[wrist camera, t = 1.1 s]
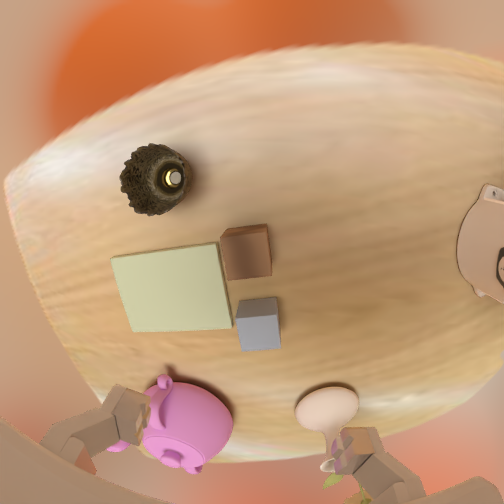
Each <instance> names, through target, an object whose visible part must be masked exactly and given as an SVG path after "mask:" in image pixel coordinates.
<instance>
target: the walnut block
mask: <svg viewBox="0 0 504 504" xmlns="http://www.w3.org/2000/svg"><path fill="white" fill-rule="evenodd" d="M220 240H221V245H222V251H223V257H224V262H225V268H226V273H227V278H228V281H229V280H238V279H247V278H256V277H265V276H272V259H271V251H270V244H269V236H268V229H267V224H259V225H252V226H244V227H237V228H229V229H227V230H226V231H225V232H224V234H223V235H222V236H221V237H220Z"/></svg>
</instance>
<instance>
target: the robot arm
mask: <svg viewBox="0 0 504 504" xmlns="http://www.w3.org/2000/svg"><path fill="white" fill-rule="evenodd" d="M457 259H458V265H459V269H460V272H461V274H462V275H463V277H464V278H465V279H466V280H467V281H468V282H469V283H470V284H472V286H473V288H474V291H475V294H476V295H477V296H479V297H483V296H485V295H488V296H490V297H492V298H494V299H495V300H497V301H499V302H501V303H503V304H504V190H503V189H501V188H498V187H495V186H492V185H489V184H485V185H484V187H483V188H482V191H481V194H480V196H479V199H478V201H477V202H476V203H475V204H474V206H473V207H472V208H471V209H470V211H469V212H468V214H467V215H466V217H465V219H464V221H463V224H462V227H461V230H460V234H459V238H458V245H457ZM150 402H151V398H150V396H148V395H145V394H142V393H139V392H137V391H134V390H131V389H129V388H126V387H123V386H121V385H118V384H116V385H115V386H113V388H112V390H111V391H110V393H109V394H108V396H107V397H106V399H105V401H104V402H103V404H102V405H101V407H100V409H98V408H94V409H92V410H89V411H87V412H84V413H82V414H79V415H77V416H74V417H71V418H69V419H66V420H63V421H61V422H57V423H55V424H53V425H52V426H51V428H50V429H49V430H48V432H47V433H46V435H45V436H44V438H43V439H42V440H41V442H40V443H39V444H38V443H37V442H35V441H34V440H32V439H30V438H29V437H28V436H26V435H25V434H24V433H22V432H21V431H19V430H18V429H17V428H15V427H14V426H13V425H11V424H10V423H9V422H7V421H6V420H5V419H4V418H2V416H0V504H174V503H170V502H166V501H162V500H159V499H156V498H153V497H149V496H146V495H143V494H140V493H137V492H135V491H132V490H129V489H126V488H124V487H121V486H119V485H116V484H114V483H111V482H109V481H106V480H104V479H102V478H100V477H98V476H95V474H96V471H97V470H96V468H95V466H94V464H93V462H92V460H91V458H92V457H93V456H95V455H97V454H99V453H100V452H102V451H104V450H105V449H107V448H109V447H111V446H112V445H114V444H115V443H117V442H119V441H120V440H122V441H125V442H128V443H131V444H134V445H136V446H139V445H140V443H141V440H142V438H143V436H144V433H143V429H145V428H147V426H148V423H149V420H150V416H151V408H150V406H149V405H150ZM331 453H332V457H333V458H334V459H336V461H335V462H334V469H335V474H336V475H349V474H353V476H354V478H355V479H356V480H357V481H358V482H359V483H360V485H361V486H362V487H363V488H364V489H365V490H366V491H367V492H368V494H369V495H370V496H371V497H372V498H373V499H374V500H373V501H371V502H370V503H369V504H504V502H503V499H502V497H501V495H500V492H499V490H498V489H497V487H496V486H495V485H494V484H492V483H491V482H489V481H487V480H486V479H484V478H482V477H479V476H477V477H473V478H471V479H469V480H466V481H464V482H462V483H460V484H457V485H455V486H452V487H450V488H448V489H445V490H443V491H440V492H437V493H434V494H431V495H428V496H426V493H425V490H424V488H423V485H422V482H421V480H420V477H419V476H417V475H416V474H415V473H413V472H412V471H411V470H409V469H408V468H407V467H406V466H404V465H403V464H402V463H400V462H399V461H398V460H397V459H395V458H394V457H393V456H392V455H390V454H389V453H388V452H387V453H385V451H384V448H383V445H382V442H381V440H380V437H379V434H378V432H377V429H376V428H375V427H345V428H343V429H342V430H341V431H340V436H338V437H337V438H335V440H334V441H333V443H332V447H331Z"/></svg>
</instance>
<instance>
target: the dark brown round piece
mask: <svg viewBox="0 0 504 504" xmlns="http://www.w3.org/2000/svg"><path fill="white" fill-rule="evenodd" d="M131 158H132V159H130V160H127V161H126V162H125V163H124V164H125V165H126V167H125V169H124V170H123V171H122V173H121V175H120V181H121V184H122V186H121V192H122V193H127V195H128V199H129V200H130V203H129V206H130V207H134V211H135V212H136V213H138V214H147V215H148V216H153V215H155V214H157V215H161V214H163V213H165V212H168V211H169V210H171V209H172V208H173V207H174V206H176V205H177V204H178V203H179V202H181V201H182V200H183V199H184V197H185V196H186V195H187V193H188V192H189V190H190V187H191V183H192V172H191V168H190V166H189V164H188V162H187V161H186V160H185V159H184V157H182V156H181V155H180V154H179V153H177V152H175V151H174V150H172V149H170V148H169V147H167V146H165V145H162V144H159V145H156V144H152V143H150V144H149V145H148V146H142V147H139V148H138V149H137V150H136V151H135V152H132V154H131ZM173 172H179V173H180V174H181V181H180V183H178V184H173V183H171V181H170V175H171V173H173Z"/></svg>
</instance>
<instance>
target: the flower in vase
mask: <svg viewBox="0 0 504 504" xmlns="http://www.w3.org/2000/svg"><path fill="white" fill-rule="evenodd" d="M358 407H359V398H358V396H357V395H356V394H355V393H354V392H353V391H351V390H349V389H346V388H343V387H326V388H322V389H319V390H316V391H314V392H312V393H310V394H308V395H307V396H305V397H304V398H303V399H302V400H301V401H300V402H299V403H298V405H297V407H296V409H295V417H296V419H297V421H298V422H299V423H300V424H301V425H302V426H303V427H305V428H307V429H310V430H312V431H317V432H322V433H323V434H324V435H325V439H326V457H325V460H324V461H323V463H322V464H321V466H320V469H321V470H322V471H324V472H334V473H332V474H331V475H330V476H329V477H328V478H327V479H326V481H325V483H324V485H323V489H325V488H327V487H329V486H331V485H333V484H335V483H337V482H339V481H340V480H341V479H342V478H343V475H336V474H335V469H334V462H335V461H336V459H334V458H333V457H332V453H331V447H332V443H333V441H334V440H335V438H337V437H338V436H339V430H340V428H341V427H343V426H344V425H345V424H347V423H348V422H349V421H350V420H351V419H352V418H353V417H354V416H355V414H356V413H357V411H358ZM358 483H359V482H358ZM359 487H360V490H361V491H360V492H359V494H354V495H352V497H350V498H348V499H345V500H344V502H345V503H343V504H369V503H370V502H371V501H373V500H374V499H373V498H372V497H371V496H370V495H369V494H368V492H367V491H366V490H363V489H362V486H361V485H360V483H359Z"/></svg>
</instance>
